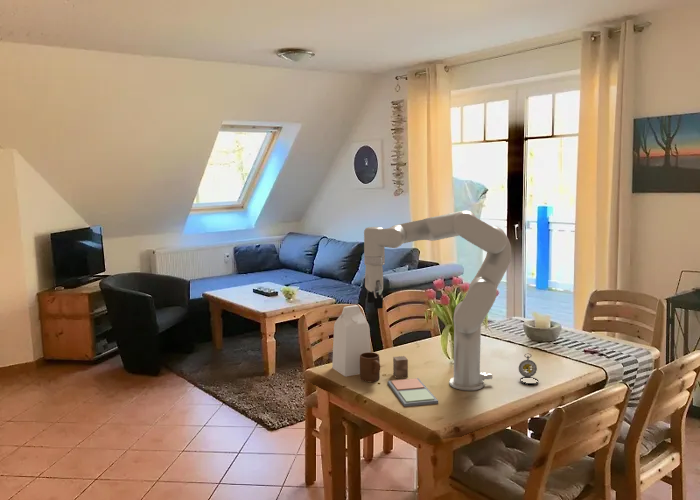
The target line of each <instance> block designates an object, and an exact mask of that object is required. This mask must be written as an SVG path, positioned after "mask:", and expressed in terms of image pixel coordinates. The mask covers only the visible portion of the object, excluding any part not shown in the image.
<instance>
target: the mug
mask: <svg viewBox="0 0 700 500" xmlns="http://www.w3.org/2000/svg"><path fill="white" fill-rule="evenodd" d="M380 371H381V361H380V355H379V353H376V352H372V351H371V352H368V353H363V354H361V355H360V374H359V379H360V380H361V381H362V382H366V383H374V382H377V381H379V380H380V373H381V372H380Z"/></svg>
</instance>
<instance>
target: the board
mask: <svg viewBox="0 0 700 500" xmlns="http://www.w3.org/2000/svg"><path fill="white" fill-rule="evenodd" d="M387 385H388V387H390V389H391V390H392V391H393V393H394V394H395V397H396V398H398V400H399V402H401V404H402V405H403V406H404V407H414V406H424V405H425V406H427V405H435V404H439V400H438V399H437V398H436V396H435V395H434V394H433V393H432V392H431V391H430V390H429V388H428V387H426V385H425V384H424V382H422V380H421V379H420V378H419V377H417V378H404V379H403V378H402V379H393V380H387Z"/></svg>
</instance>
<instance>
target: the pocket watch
mask: <svg viewBox="0 0 700 500" xmlns="http://www.w3.org/2000/svg"><path fill="white" fill-rule="evenodd" d="M526 355H527V356H526ZM529 355H530V356H529ZM524 357H525V358H526V359H523V360H522V361H521V362H520V363H519V366H518V373H519V374H521V376H523V377H520V378H519V382H520V381H521V379H523V378H533V379H535V380H537V381H538V382H536V383H526V382H523V381H521V382H520V383H522V384H524V383H525V384H524V385H528V384H535V385H537V384H538V383H539V379H538V378H536V377H534V376H535V374H536V373H537V371H538V368H537V364H536V362H534V361H533V360H531V359H530V358H532V354H531V353H527V352H526V353H525V354H524Z"/></svg>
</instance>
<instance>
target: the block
mask: <svg viewBox="0 0 700 500" xmlns="http://www.w3.org/2000/svg"><path fill="white" fill-rule="evenodd" d="M392 358H393V364H392V365H393V366H392V368H393V373H392V374H393V376H394V377H395V378H396V379H400V378H401V379H403V378H404V379H405V378H409V370H408V369H409V360H408V359H407V357H406V356H405V355H403V356H402V355H401V356H393V357H392Z"/></svg>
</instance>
